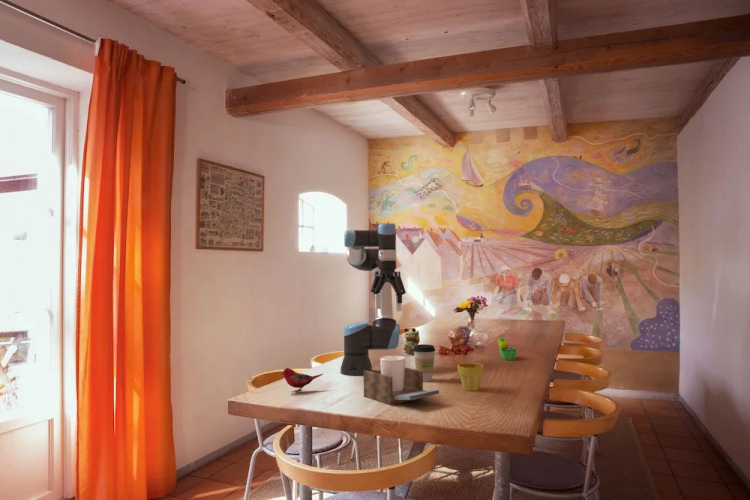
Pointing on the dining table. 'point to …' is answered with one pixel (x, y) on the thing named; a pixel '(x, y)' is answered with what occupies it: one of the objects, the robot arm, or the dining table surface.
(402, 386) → the candle holder
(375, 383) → the small wooden shelf
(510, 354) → the fruit basket
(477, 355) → the dining table surface
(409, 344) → the decorative figurine
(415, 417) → the dining table surface
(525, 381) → the dining table surface
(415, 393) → the pale grey panel
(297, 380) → the decorative bird figurine
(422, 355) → the coffee cup
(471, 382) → the plant pot
